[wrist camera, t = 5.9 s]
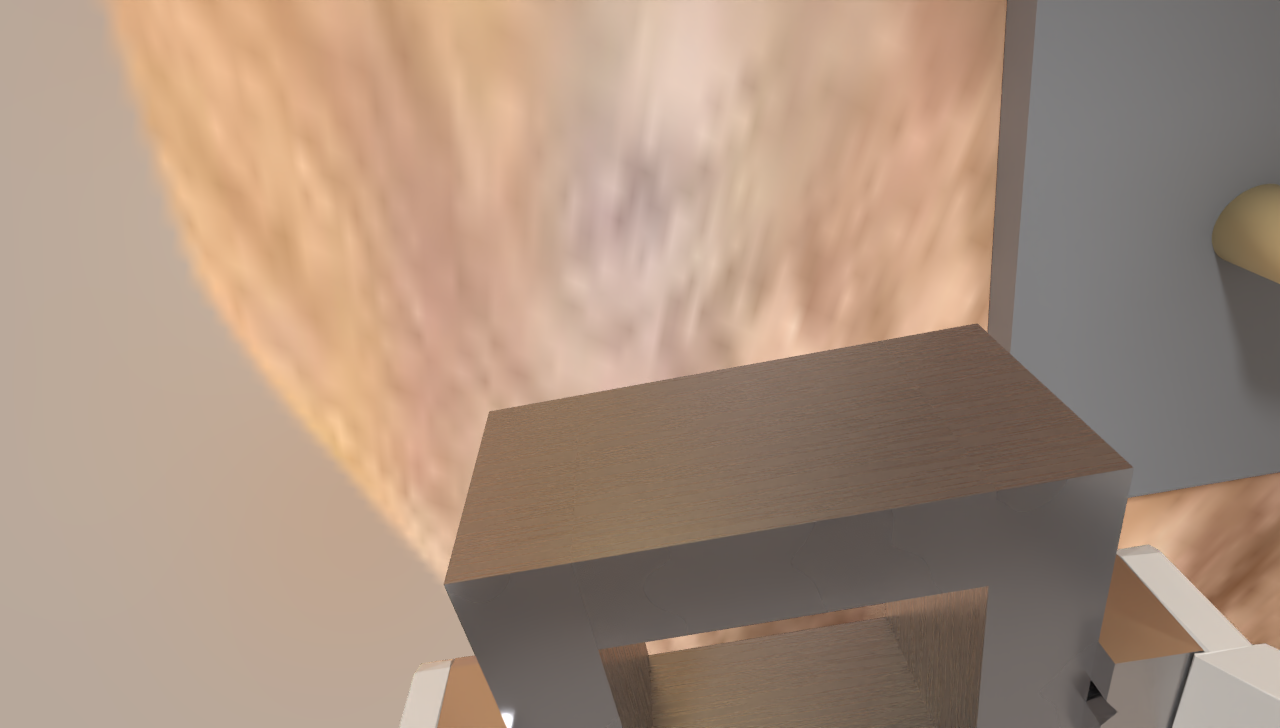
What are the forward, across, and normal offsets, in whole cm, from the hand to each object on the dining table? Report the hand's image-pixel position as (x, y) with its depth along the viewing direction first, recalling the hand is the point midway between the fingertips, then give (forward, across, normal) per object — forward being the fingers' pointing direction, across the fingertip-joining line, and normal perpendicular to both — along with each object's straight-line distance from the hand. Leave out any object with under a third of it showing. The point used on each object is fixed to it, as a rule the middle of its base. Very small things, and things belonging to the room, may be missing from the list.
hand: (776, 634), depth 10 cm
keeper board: (+14, -17, +2) cm, 22 cm away
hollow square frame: (+2, 0, 0) cm, 2 cm away
